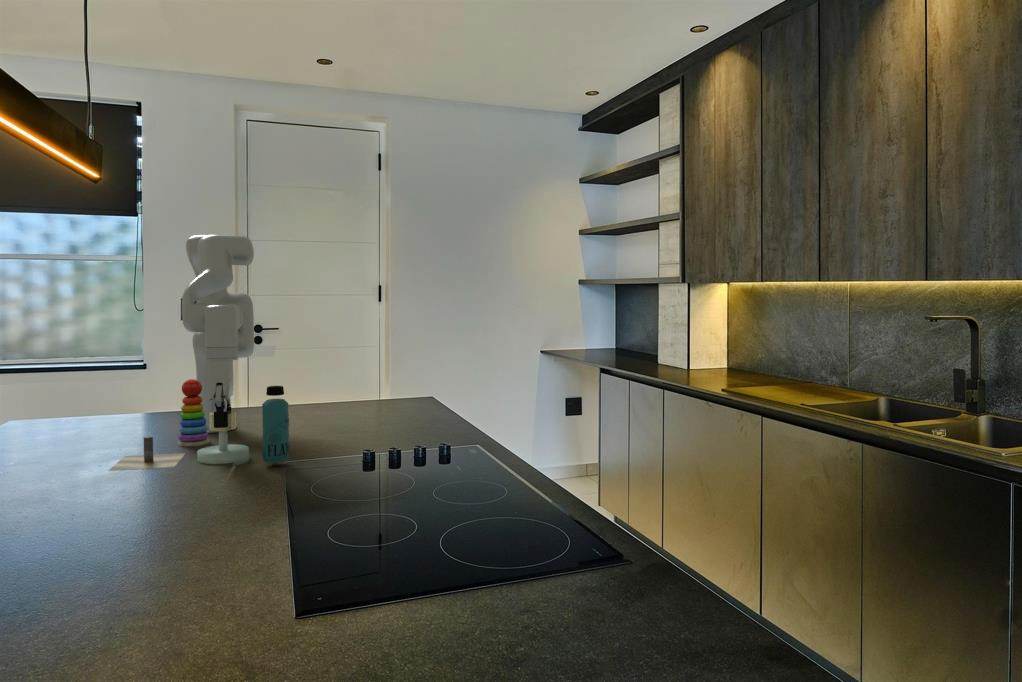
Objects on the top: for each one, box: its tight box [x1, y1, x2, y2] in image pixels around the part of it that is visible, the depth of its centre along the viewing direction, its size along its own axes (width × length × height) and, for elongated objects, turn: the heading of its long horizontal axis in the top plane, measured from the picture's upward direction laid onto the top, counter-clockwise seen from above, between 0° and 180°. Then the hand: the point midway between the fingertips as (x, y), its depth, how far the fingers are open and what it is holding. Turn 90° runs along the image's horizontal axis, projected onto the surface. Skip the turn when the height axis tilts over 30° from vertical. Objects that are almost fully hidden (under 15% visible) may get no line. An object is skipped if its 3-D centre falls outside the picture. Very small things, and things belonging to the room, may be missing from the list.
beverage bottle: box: [261, 385, 290, 464], centre depth 162 cm, size 6×7×20 cm
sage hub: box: [196, 431, 250, 467], centre depth 166 cm, size 12×12×9 cm
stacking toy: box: [177, 378, 210, 447], centre depth 181 cm, size 8×8×19 cm
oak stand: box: [107, 436, 186, 472], centre depth 161 cm, size 14×14×7 cm
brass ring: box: [209, 410, 237, 432], centre depth 165 cm, size 6×6×4 cm
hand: (222, 424), depth 165 cm, fingers closed on brass ring, 6 cm apart
